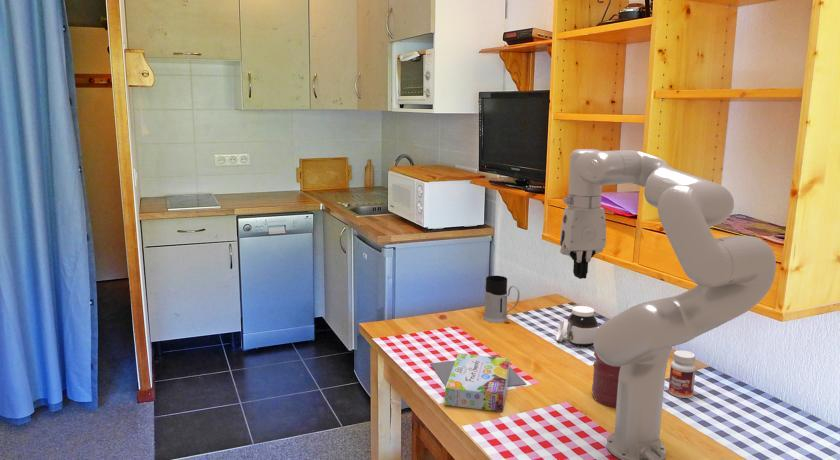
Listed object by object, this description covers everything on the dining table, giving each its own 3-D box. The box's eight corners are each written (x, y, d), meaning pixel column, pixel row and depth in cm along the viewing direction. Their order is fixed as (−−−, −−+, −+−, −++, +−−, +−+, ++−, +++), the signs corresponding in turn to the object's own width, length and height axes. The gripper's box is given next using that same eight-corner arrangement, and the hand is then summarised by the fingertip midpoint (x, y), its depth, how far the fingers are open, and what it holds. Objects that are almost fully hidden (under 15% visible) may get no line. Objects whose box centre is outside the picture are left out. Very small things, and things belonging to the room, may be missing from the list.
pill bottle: (667, 396, 169) (671, 356, 166) (669, 386, 174) (672, 348, 172) (692, 400, 166) (696, 360, 164) (693, 391, 172) (697, 351, 170)
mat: (526, 384, 175) (526, 383, 175) (450, 393, 170) (450, 392, 170) (499, 357, 194) (499, 356, 194) (430, 364, 189) (430, 363, 189)
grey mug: (493, 312, 235) (494, 273, 232) (525, 322, 225) (526, 281, 222) (478, 318, 228) (479, 278, 225) (510, 328, 219) (512, 286, 216)
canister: (586, 386, 174) (589, 325, 171) (633, 387, 174) (638, 325, 171) (598, 409, 161) (603, 343, 158) (650, 409, 161) (655, 344, 158)
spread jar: (600, 348, 202) (602, 313, 199) (568, 351, 199) (570, 316, 196) (580, 334, 213) (582, 301, 211) (550, 338, 210) (551, 304, 207)
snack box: (504, 392, 158) (444, 387, 161) (503, 412, 159) (444, 407, 163) (510, 356, 178) (457, 352, 181) (509, 375, 180) (456, 370, 183)
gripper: (562, 205, 144) (558, 283, 148) (621, 203, 148) (616, 279, 152) (548, 200, 151) (544, 275, 155) (604, 198, 155) (599, 271, 159)
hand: (580, 277), depth 153 cm, fingers closed
